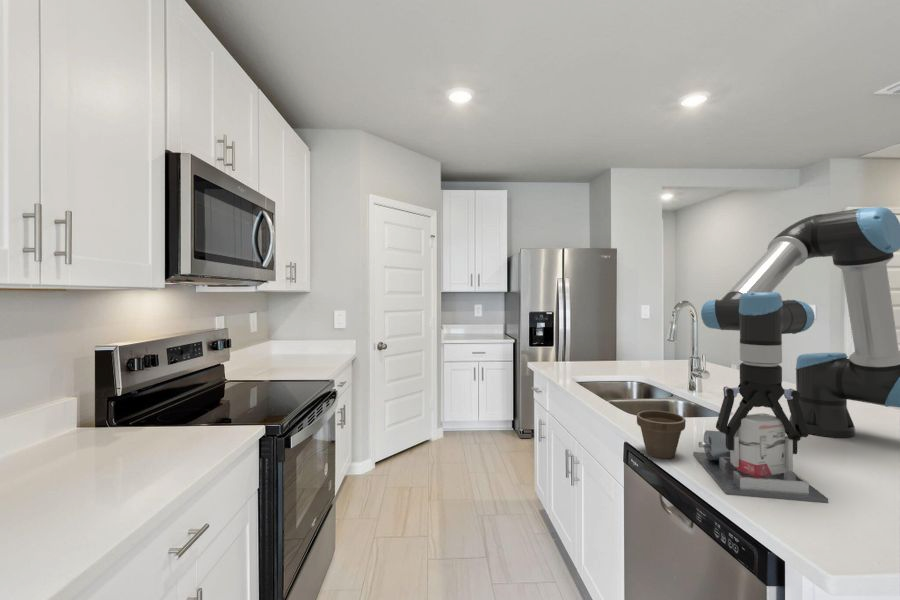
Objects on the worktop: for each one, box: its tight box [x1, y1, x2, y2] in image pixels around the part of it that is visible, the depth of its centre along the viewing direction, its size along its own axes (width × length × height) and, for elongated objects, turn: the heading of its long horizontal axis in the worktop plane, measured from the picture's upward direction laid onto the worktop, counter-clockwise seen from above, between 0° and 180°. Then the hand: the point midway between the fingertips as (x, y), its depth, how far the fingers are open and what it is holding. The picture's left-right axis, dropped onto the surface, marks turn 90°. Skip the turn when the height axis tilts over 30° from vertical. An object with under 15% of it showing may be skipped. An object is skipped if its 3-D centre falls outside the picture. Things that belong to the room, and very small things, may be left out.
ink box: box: [737, 412, 786, 477], centre depth 97 cm, size 9×5×12 cm, turn 107°
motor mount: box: [692, 430, 829, 503], centre depth 101 cm, size 18×23×10 cm
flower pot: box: [636, 410, 687, 460], centre depth 115 cm, size 12×11×10 cm
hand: (760, 466), depth 97 cm, fingers closed on ink box, 9 cm apart
